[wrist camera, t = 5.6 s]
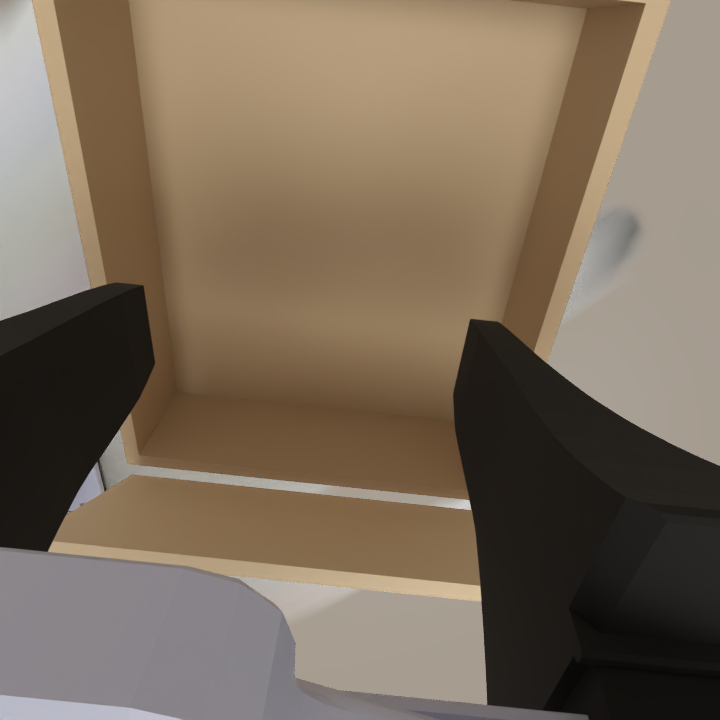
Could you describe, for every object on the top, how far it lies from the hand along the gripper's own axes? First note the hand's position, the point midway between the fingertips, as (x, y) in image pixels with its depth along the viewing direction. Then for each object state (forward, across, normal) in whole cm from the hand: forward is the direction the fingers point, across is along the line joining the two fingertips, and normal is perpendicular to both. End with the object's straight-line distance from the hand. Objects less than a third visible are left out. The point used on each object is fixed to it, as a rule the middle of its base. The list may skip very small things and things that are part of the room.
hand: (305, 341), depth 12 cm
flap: (+1, 0, +7) cm, 7 cm away
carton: (+8, 0, 0) cm, 8 cm away
